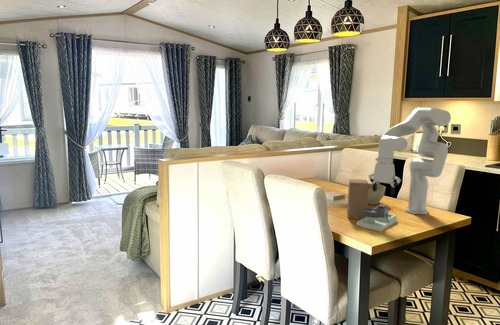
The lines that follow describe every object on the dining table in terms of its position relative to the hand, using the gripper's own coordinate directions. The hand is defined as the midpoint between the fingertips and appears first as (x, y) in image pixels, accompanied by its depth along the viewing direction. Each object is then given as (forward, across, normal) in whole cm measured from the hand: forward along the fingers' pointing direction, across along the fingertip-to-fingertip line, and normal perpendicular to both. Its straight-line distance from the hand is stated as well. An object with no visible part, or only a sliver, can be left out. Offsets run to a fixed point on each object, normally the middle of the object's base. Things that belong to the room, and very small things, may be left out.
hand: (383, 192), depth 205 cm
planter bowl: (+16, -20, +33) cm, 42 cm away
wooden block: (+16, -14, 0) cm, 22 cm away
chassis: (+16, 0, -5) cm, 17 cm away
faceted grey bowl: (+10, 0, -12) cm, 15 cm away
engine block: (+14, 0, 0) cm, 14 cm away
